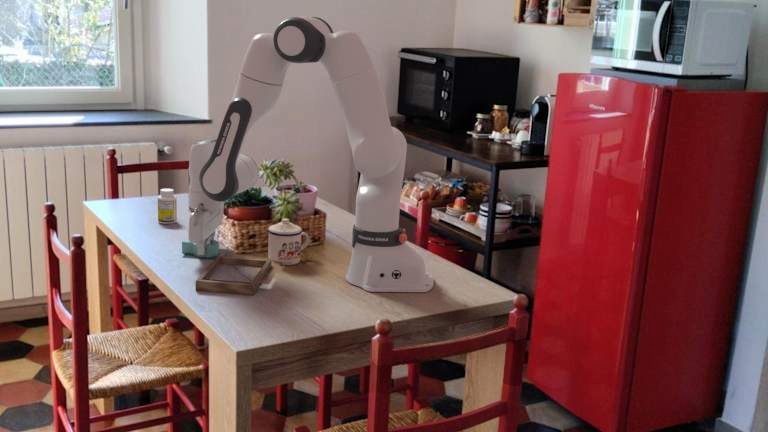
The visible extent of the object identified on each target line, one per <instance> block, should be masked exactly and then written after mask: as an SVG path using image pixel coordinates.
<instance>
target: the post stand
mask: <svg viewBox="0 0 768 432" xmlns="http://www.w3.org/2000/svg"><path fill="white" fill-rule="evenodd" d="M210 238H211V236H209V237H208V238H207V239H206V240H205V245H210ZM228 251H229V249H228V248H226V249H225V248H224V249H223V248H219V254H218V255H217V256H212V257H197V256H195V255H194V254H193V253H184V255H183V256H182V257H181V258H183V259H193V260H194V259H196V260H205V261H206V260H208V261H214V260H215V259H216V258H217V257H218V256H224V257H225V255H226V253H228Z"/></svg>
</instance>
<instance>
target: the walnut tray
mask: <svg viewBox="0 0 768 432" xmlns="http://www.w3.org/2000/svg"><path fill="white" fill-rule="evenodd" d="M221 264H226V265H227V264H228V265H240V266H253V267H261V269H260V270H259V271H258V273H257V274H256V276H255V277H254V279H252V281H251V282H247V281H236V280H222V279H221V280H220V279H211V278H210V277H211V275H212V274H213V273H214V272H215V271H216V270H217V268H218V267H220V265H221ZM271 267H272V260H270V259H260V258H248V257H247V258H245V257H235V256H225V255H224V256H218V257H217V258H216V259H215V260H212V262H211V264H209V266H208V267H207V268H206V269H204V271H203V272H202V273H201V274H200V275H199V276H198V278H197V279H196V280H195V291H197V292H205V293H206V292H207V293H209V292H210V293H218V294H219V293H221V294H232V295H233V294H234V295H247V296H255V294H256V292H257V291H258V290H259V288H260V287H261V285H262V283H261V282H262V280H263V279H264V278H265V276H266V274H267V273H268V271H269V270H270V269H271Z"/></svg>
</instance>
